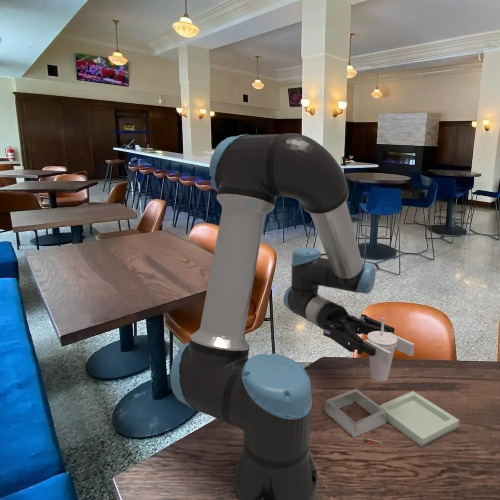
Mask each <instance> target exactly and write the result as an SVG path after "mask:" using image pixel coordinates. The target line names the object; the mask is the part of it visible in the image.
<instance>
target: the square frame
mask: <svg viewBox="0 0 500 500" xmlns="http://www.w3.org/2000/svg"><path fill="white" fill-rule="evenodd" d="M355 403H356V404H357V405H358V406H359V407H361V408H363V410H364V411H366V412H368V413H369V414H370V415H368V416H366V417H364V418H361V419H359V420H357V421H354V420H353V419H352V418H351V417H350V416H348V415H347V413H345V412H344V411H342V410H341V409H342V408H344V407H347V406H349V405H352V404H355ZM324 404H325V405H324V413H325V414H327V415H328V416H329V417H330V418H331V419H333V420H334V422H335V423H337V424H338V425H339V426H340V427H341V428H342V429H344V430H345V432H347V433H348V434H349V435H350V436H351V437H352V438H357V437H359V436H361V435H363V434H365V433H368V432H369V431H372V430H375V429H376V428H378V427H380V426H383V425H385V424H386V423H387V421H386V419H387V411H386V410H385V409H383V408H382V407H381V406H379V404H377V403H376V402H375V401H374V400H372V398H370V397H368V396H367V395H365V394H364V393H363V392H361V390H358V388H354V389H352V390H349V391H347V392H344V393H341V394H338V395H336V396H333V397H330V398H328V399H326V400H325V401H324Z"/></svg>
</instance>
